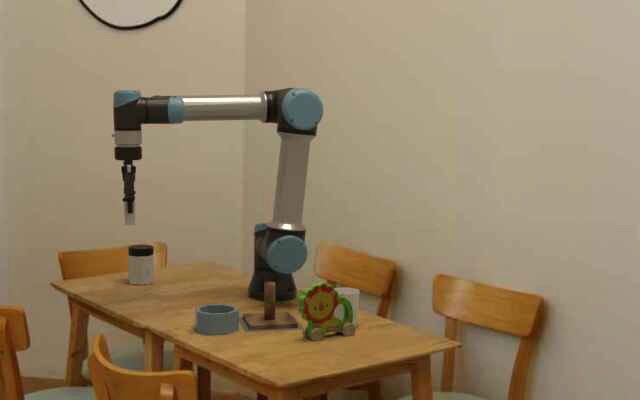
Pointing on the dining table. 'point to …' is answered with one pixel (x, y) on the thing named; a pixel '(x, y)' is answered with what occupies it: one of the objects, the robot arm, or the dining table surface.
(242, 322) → the mat
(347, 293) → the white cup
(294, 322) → the lid
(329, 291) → the toy lion
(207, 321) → the bowl
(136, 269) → the jar
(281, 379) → the dining table surface
